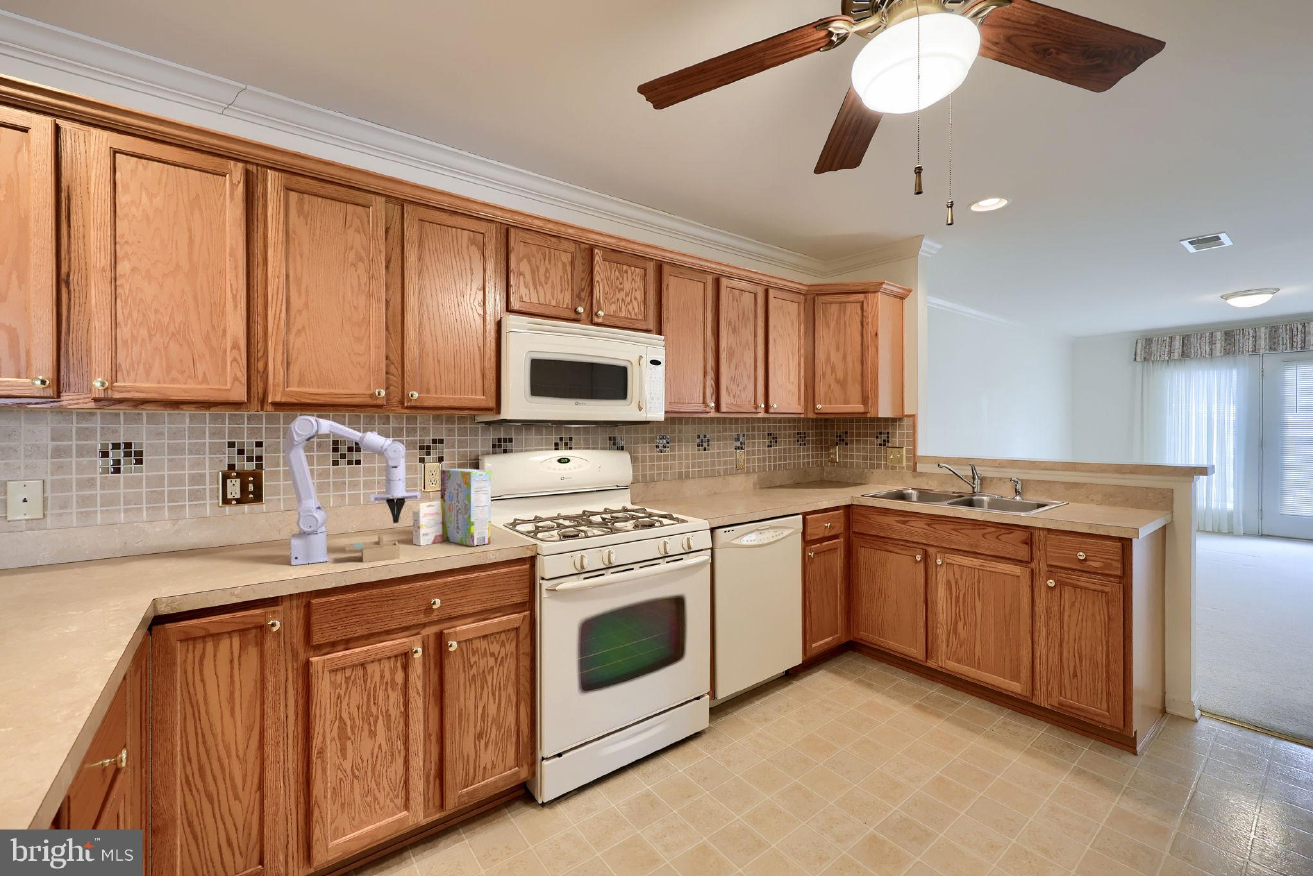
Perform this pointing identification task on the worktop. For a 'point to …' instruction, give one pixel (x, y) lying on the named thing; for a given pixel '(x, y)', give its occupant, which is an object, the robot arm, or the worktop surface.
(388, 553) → the mailer tray
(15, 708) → the worktop surface
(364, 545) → the mailer lid
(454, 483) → the snack box
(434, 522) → the ink cartridge box
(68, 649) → the worktop surface
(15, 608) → the worktop surface
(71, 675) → the worktop surface
